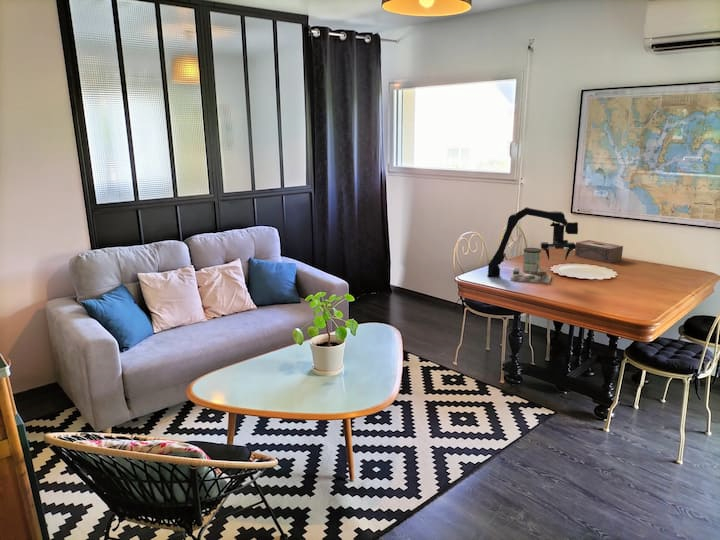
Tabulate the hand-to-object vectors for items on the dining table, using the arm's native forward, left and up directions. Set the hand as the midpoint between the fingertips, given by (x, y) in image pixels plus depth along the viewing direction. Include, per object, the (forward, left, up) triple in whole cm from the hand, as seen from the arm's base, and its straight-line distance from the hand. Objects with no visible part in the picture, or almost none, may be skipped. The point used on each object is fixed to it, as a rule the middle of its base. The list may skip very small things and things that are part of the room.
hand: (557, 260), depth 302 cm
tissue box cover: (+26, +67, -13) cm, 73 cm away
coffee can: (-15, +18, -13) cm, 26 cm away
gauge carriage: (-9, -3, -11) cm, 14 cm away
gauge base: (-14, -1, -12) cm, 19 cm away
